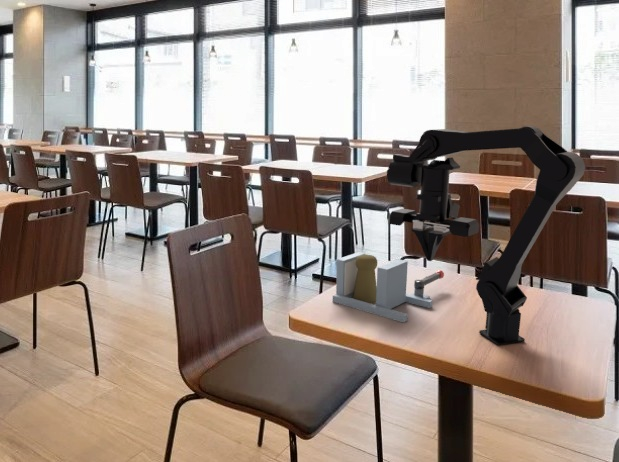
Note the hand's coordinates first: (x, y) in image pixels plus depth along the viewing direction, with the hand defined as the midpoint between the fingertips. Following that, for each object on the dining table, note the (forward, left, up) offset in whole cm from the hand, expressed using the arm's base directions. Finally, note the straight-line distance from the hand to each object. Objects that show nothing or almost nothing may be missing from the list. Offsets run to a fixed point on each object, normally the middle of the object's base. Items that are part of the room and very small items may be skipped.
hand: (429, 260), depth 117 cm
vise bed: (+11, +4, -13) cm, 18 cm away
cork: (+14, +9, -13) cm, 21 cm away
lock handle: (+13, -8, -10) cm, 19 cm away
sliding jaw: (+8, +5, -13) cm, 16 cm away
